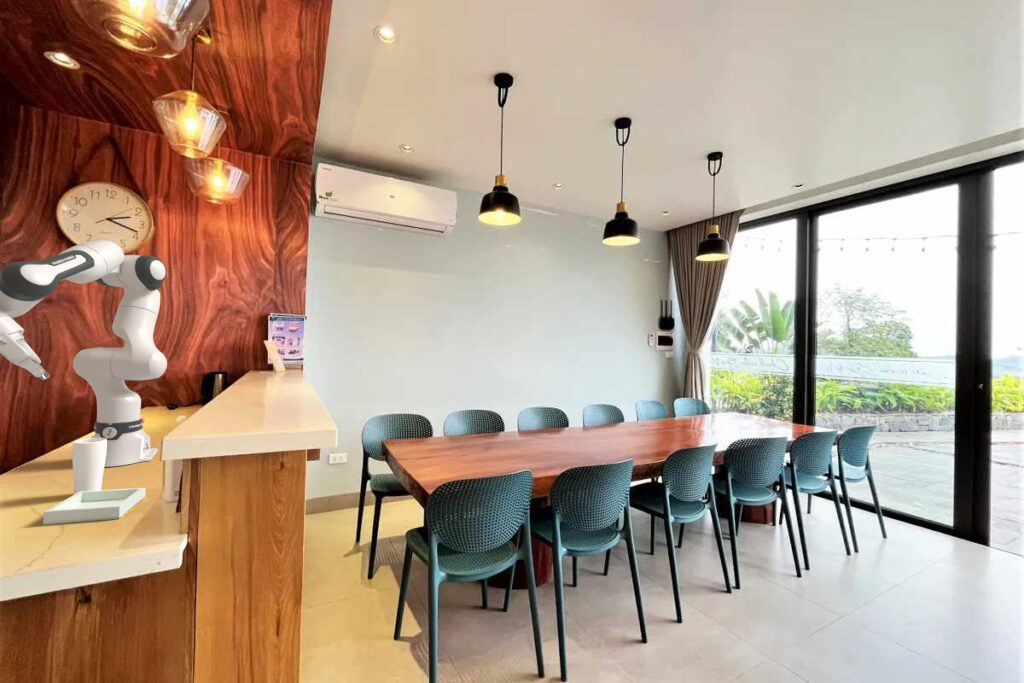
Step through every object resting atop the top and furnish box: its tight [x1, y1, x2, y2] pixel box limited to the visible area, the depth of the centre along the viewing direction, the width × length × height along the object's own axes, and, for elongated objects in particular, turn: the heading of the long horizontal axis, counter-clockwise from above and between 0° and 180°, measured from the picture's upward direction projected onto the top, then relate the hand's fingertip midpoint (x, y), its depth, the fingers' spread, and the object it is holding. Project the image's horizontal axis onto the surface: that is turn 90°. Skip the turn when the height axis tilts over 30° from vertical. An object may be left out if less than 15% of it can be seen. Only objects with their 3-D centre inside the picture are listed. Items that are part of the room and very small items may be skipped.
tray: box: [42, 487, 147, 526], centre depth 109 cm, size 14×14×3 cm
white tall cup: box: [71, 437, 107, 495], centre depth 118 cm, size 7×7×15 cm
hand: (43, 377), depth 115 cm, fingers open, 8 cm apart
